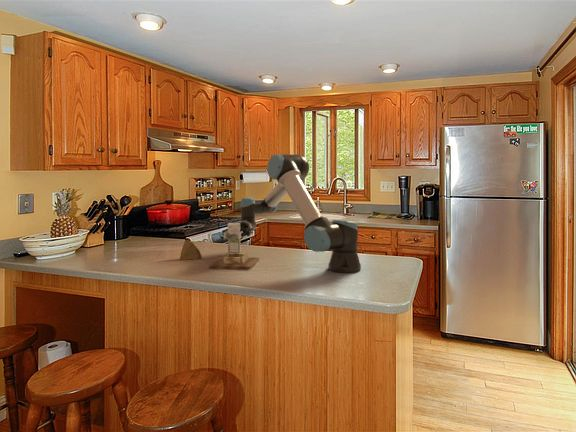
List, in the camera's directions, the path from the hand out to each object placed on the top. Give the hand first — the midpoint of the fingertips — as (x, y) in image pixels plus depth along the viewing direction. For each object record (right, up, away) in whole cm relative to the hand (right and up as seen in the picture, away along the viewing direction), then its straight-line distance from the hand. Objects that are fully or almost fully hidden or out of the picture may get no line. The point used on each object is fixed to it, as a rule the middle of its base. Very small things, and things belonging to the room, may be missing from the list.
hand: (231, 235), depth 210 cm
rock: (-24, -13, +20) cm, 33 cm away
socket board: (+1, -14, +7) cm, 16 cm away
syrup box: (+1, -8, +6) cm, 11 cm away
